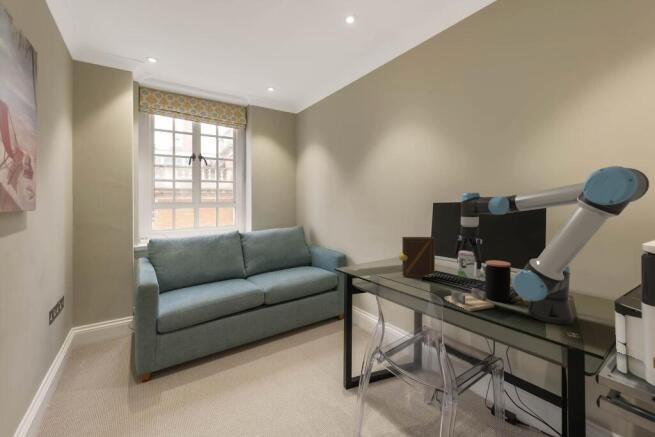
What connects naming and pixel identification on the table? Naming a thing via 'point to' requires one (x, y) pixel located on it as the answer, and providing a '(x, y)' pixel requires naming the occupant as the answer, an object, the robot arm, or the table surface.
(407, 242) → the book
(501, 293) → the coffee jar
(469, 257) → the ink box
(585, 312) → the table surface
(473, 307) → the clip stand
